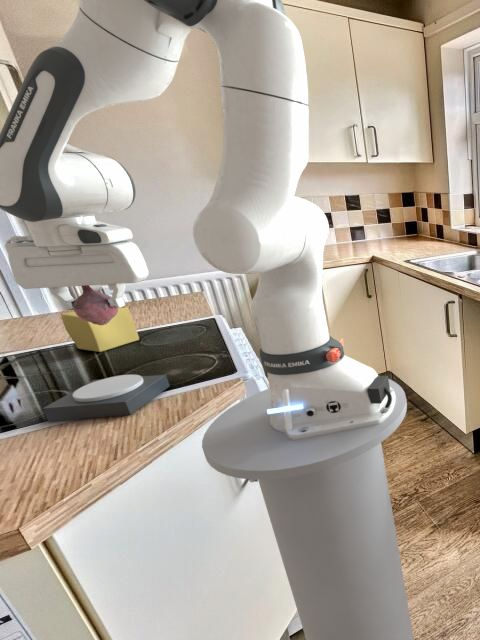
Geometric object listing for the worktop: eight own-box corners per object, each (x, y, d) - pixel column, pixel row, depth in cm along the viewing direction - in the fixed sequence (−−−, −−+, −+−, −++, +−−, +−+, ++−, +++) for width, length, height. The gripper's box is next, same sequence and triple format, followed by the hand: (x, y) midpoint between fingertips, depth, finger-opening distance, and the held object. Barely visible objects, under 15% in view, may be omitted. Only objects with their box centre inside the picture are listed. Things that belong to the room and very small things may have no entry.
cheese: (118, 336, 123) (105, 303, 119) (142, 340, 119) (130, 306, 116) (74, 349, 114) (58, 314, 110) (99, 353, 110) (84, 317, 107)
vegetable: (74, 329, 80) (52, 277, 76) (113, 319, 85) (94, 271, 82) (92, 332, 78) (70, 279, 74) (131, 322, 83) (112, 272, 79)
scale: (170, 386, 91) (164, 371, 89) (130, 414, 80) (123, 398, 78) (98, 391, 89) (92, 376, 88) (48, 421, 78) (39, 404, 77)
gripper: (-17, 238, 71) (20, 316, 76) (115, 233, 73) (142, 309, 78) (18, 234, 77) (50, 307, 82) (140, 229, 79) (164, 300, 84)
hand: (96, 308), depth 80 cm, fingers closed on vegetable, 6 cm apart
